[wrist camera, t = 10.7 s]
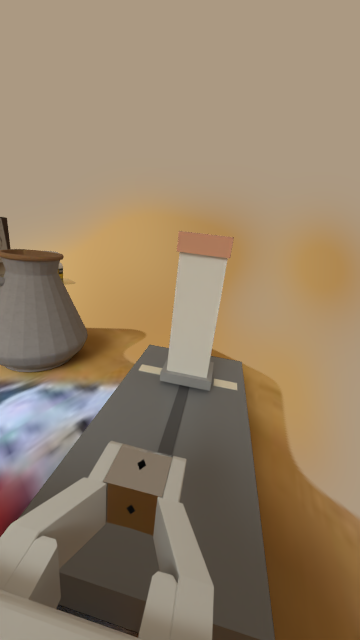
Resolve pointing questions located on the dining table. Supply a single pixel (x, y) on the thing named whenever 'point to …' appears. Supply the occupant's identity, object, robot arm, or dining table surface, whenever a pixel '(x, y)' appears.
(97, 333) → the dining table surface
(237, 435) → the fader console
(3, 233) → the coffee box
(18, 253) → the coffee pot
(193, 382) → the fader knob
